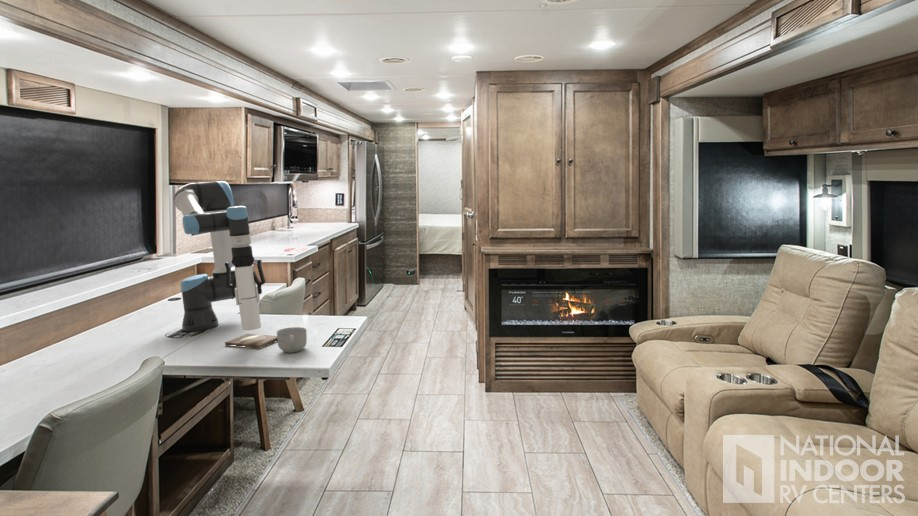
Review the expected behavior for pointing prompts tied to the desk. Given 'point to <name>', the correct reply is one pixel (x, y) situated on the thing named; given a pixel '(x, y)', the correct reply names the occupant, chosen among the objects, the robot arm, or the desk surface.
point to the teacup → (292, 339)
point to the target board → (252, 340)
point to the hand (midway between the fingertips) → (248, 303)
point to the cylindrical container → (247, 298)
